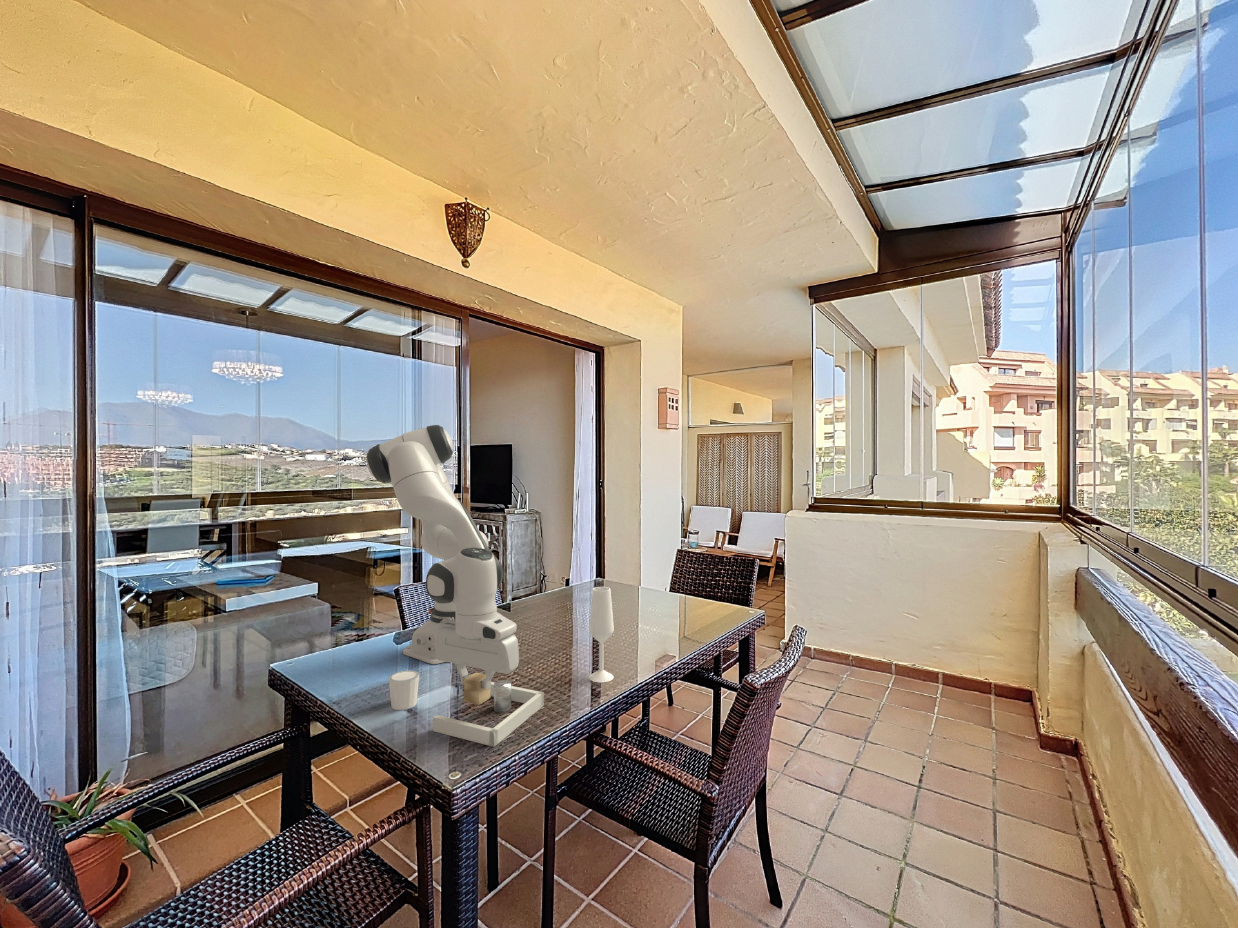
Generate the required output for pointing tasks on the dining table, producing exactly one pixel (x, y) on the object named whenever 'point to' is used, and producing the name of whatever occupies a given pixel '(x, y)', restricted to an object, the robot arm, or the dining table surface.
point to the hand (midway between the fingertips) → (475, 685)
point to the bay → (503, 729)
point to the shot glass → (404, 689)
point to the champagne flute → (601, 627)
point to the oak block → (475, 689)
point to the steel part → (502, 696)
